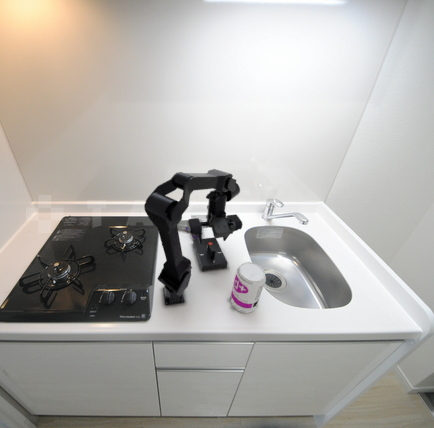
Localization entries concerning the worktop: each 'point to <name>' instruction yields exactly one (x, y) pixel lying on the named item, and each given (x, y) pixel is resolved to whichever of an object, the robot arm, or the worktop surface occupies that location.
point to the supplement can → (247, 287)
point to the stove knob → (211, 250)
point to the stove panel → (204, 257)
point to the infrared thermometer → (183, 226)
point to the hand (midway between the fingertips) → (212, 241)
